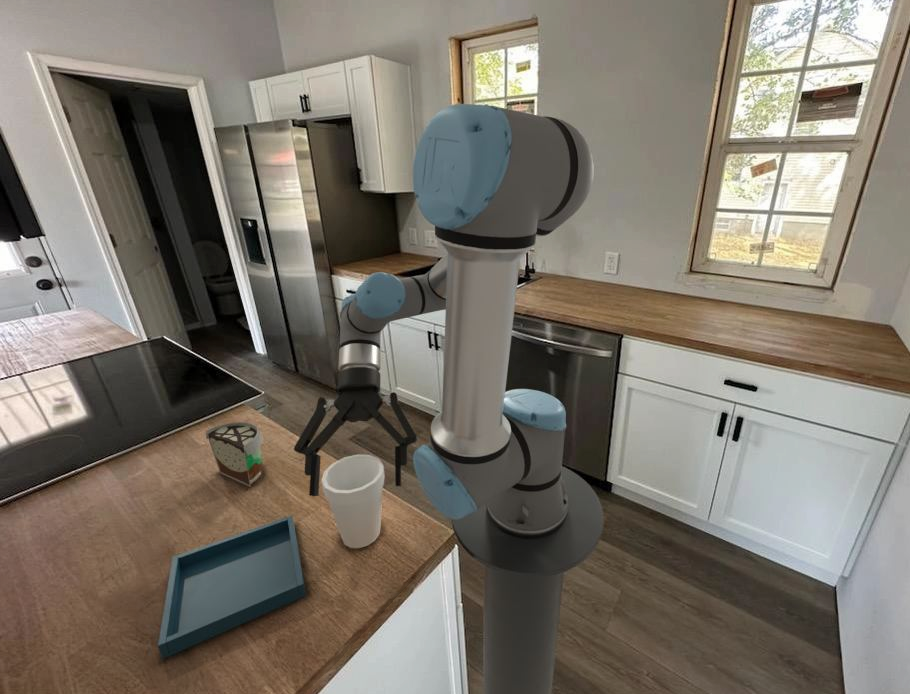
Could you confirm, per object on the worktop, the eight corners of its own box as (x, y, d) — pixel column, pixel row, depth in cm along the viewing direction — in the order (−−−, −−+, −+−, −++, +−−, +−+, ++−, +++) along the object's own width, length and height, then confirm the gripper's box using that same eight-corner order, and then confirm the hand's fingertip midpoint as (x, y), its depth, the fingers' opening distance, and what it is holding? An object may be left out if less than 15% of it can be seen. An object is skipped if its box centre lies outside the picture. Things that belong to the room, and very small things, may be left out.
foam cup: (400, 525, 73) (395, 465, 69) (361, 565, 65) (352, 501, 61) (361, 505, 77) (354, 448, 73) (320, 541, 69) (308, 479, 65)
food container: (283, 470, 86) (275, 430, 82) (255, 489, 80) (245, 446, 77) (244, 454, 90) (234, 415, 87) (215, 471, 85) (204, 430, 81)
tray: (294, 525, 72) (292, 514, 71) (306, 595, 61) (303, 583, 60) (176, 568, 64) (171, 556, 63) (162, 659, 52) (157, 646, 51)
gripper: (427, 374, 84) (431, 483, 75) (294, 382, 79) (284, 500, 70) (426, 361, 77) (431, 479, 69) (281, 369, 72) (268, 498, 64)
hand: (356, 490), depth 69 cm, fingers open, 13 cm apart
